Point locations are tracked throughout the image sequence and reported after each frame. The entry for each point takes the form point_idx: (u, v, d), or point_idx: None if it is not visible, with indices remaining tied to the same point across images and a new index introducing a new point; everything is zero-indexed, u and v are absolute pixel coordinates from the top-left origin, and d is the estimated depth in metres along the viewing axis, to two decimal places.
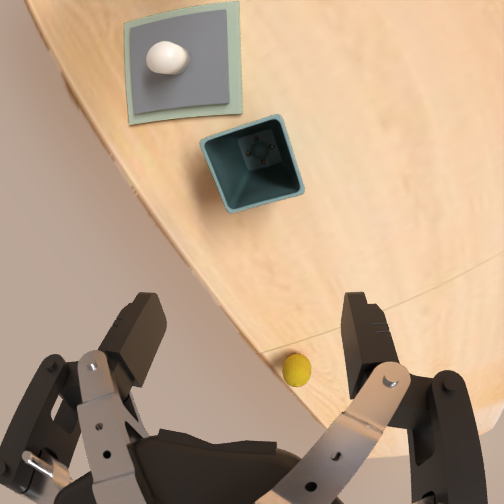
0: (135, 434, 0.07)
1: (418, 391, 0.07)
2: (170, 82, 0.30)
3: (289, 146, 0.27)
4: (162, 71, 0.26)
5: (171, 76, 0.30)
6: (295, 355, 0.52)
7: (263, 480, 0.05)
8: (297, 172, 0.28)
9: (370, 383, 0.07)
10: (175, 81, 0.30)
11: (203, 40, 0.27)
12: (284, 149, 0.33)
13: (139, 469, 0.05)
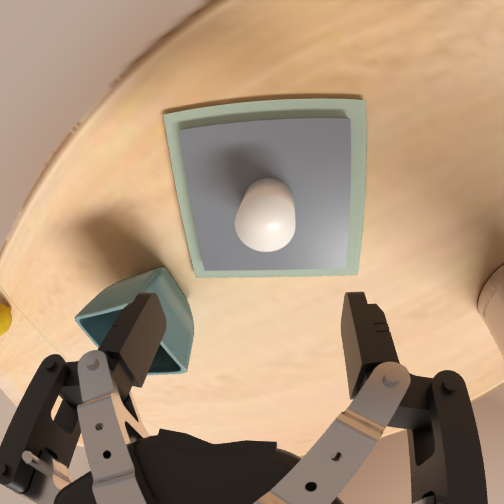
0: (135, 434, 0.07)
1: (418, 391, 0.07)
2: (231, 193, 0.23)
3: (158, 373, 0.25)
4: (237, 226, 0.19)
5: (241, 195, 0.23)
6: (7, 313, 0.38)
7: (263, 480, 0.05)
8: None
9: (370, 383, 0.07)
10: (231, 202, 0.23)
11: (298, 241, 0.24)
12: None
13: (139, 469, 0.05)
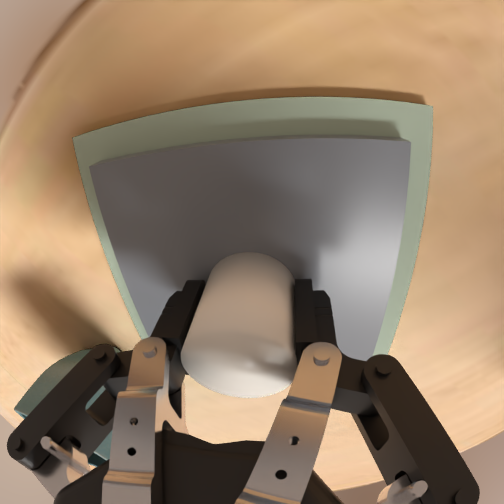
0: None
1: (352, 373, 0.08)
2: (185, 275, 0.13)
3: None
4: (187, 364, 0.09)
5: (203, 278, 0.13)
6: None
7: None
8: None
9: (302, 366, 0.08)
10: None
11: None
12: None
13: (159, 474, 0.05)
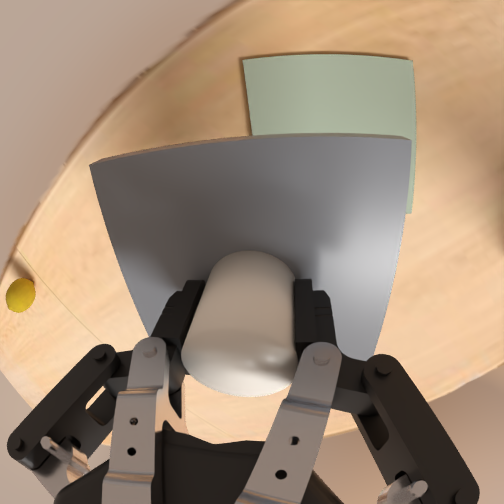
0: None
1: (352, 373, 0.08)
2: (186, 273, 0.13)
3: None
4: (187, 363, 0.09)
5: (203, 277, 0.13)
6: (31, 287, 0.39)
7: None
8: None
9: (302, 366, 0.08)
10: None
11: None
12: None
13: (159, 474, 0.05)
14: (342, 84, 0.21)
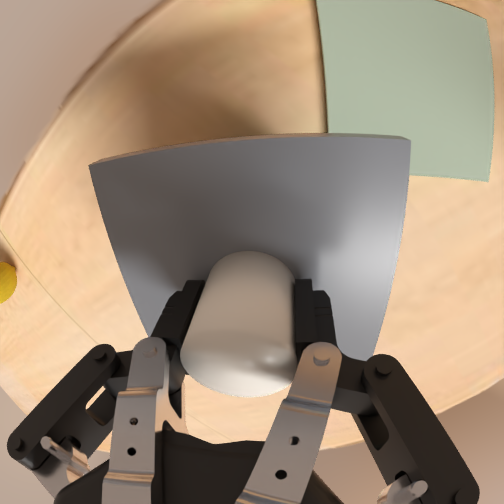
0: None
1: (352, 373, 0.08)
2: (185, 274, 0.13)
3: None
4: (186, 364, 0.09)
5: (202, 277, 0.13)
6: (12, 273, 0.30)
7: None
8: None
9: (302, 366, 0.08)
10: None
11: None
12: None
13: (159, 474, 0.05)
14: (425, 25, 0.13)
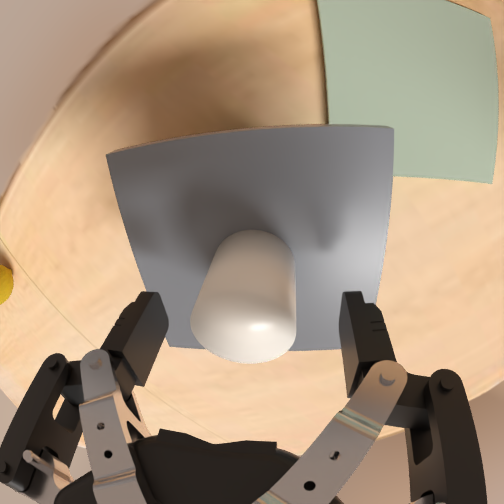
0: (137, 434, 0.07)
1: (415, 390, 0.07)
2: (193, 253, 0.14)
3: None
4: (195, 329, 0.11)
5: (209, 256, 0.14)
6: (8, 276, 0.29)
7: (263, 480, 0.05)
8: None
9: (367, 382, 0.07)
10: (195, 265, 0.15)
11: (300, 319, 0.16)
12: None
13: (140, 469, 0.05)
14: (428, 23, 0.13)
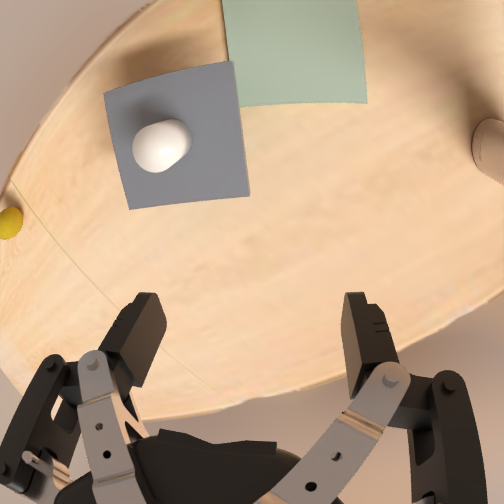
0: (135, 434, 0.07)
1: (418, 391, 0.07)
2: None
3: None
4: (134, 152, 0.21)
5: None
6: (19, 214, 0.39)
7: (263, 480, 0.05)
8: None
9: (370, 383, 0.07)
10: None
11: (201, 173, 0.26)
12: None
13: (139, 469, 0.05)
14: (297, 5, 0.23)
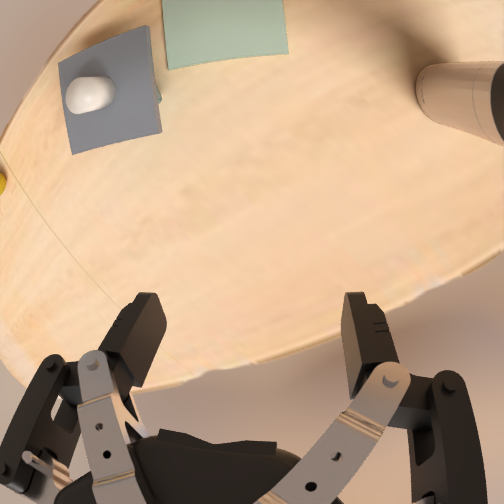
0: (135, 434, 0.07)
1: (418, 391, 0.07)
2: None
3: None
4: (66, 100, 0.22)
5: None
6: (3, 178, 0.40)
7: (263, 480, 0.05)
8: None
9: (370, 383, 0.07)
10: None
11: (122, 117, 0.27)
12: None
13: (138, 469, 0.05)
14: None
